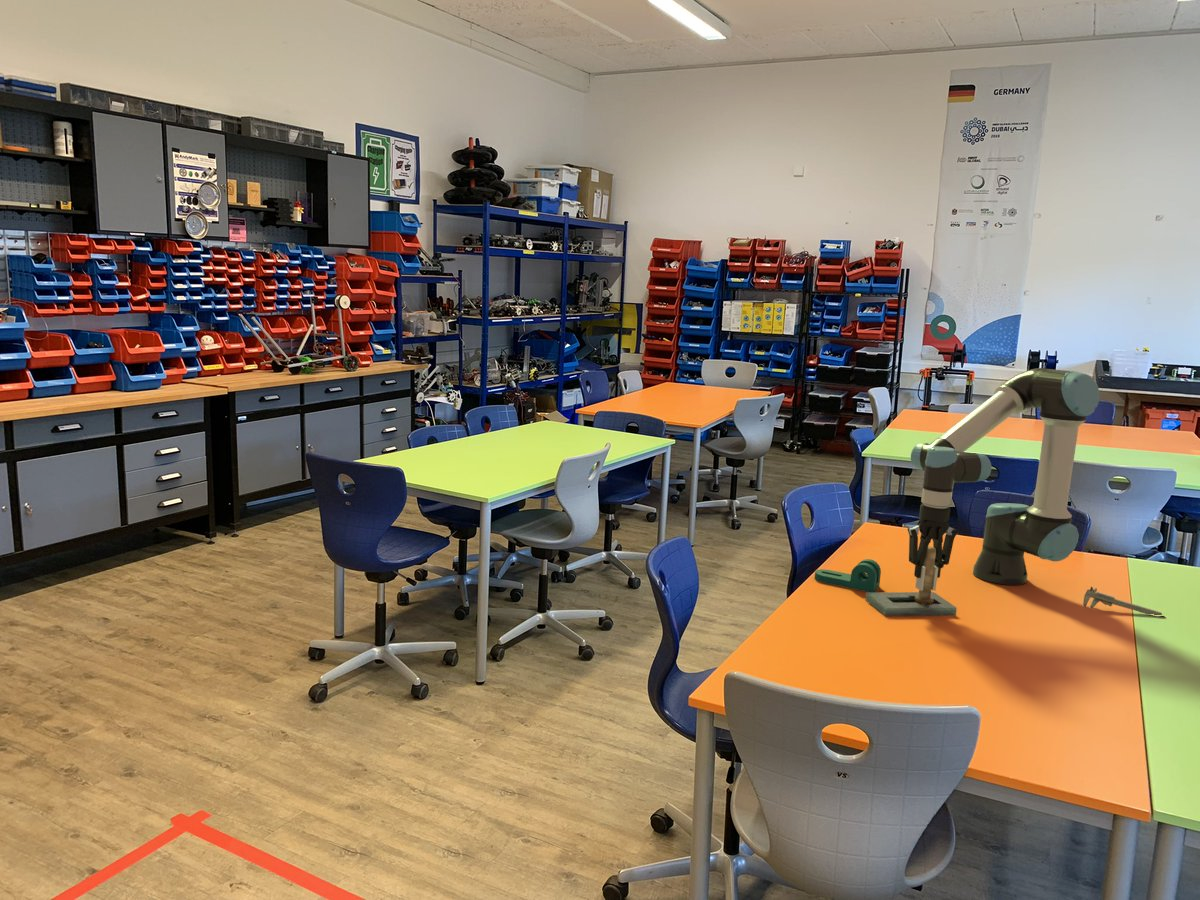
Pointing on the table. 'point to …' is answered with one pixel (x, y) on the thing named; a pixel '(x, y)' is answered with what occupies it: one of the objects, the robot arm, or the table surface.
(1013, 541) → the robot arm
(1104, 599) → the caliper
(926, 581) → the peg
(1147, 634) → the table surface
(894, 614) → the keyhole plate
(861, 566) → the bracket
